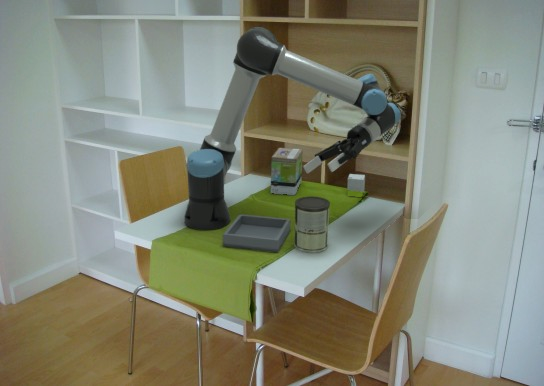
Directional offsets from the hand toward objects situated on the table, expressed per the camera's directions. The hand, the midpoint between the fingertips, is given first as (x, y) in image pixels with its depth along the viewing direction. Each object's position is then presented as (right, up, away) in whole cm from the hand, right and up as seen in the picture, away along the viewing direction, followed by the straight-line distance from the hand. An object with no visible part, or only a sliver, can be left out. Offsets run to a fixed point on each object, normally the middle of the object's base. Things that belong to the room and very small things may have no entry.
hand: (317, 169), depth 174 cm
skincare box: (+18, -8, +41) cm, 46 cm away
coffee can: (-2, -24, -3) cm, 24 cm away
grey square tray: (-18, -22, +2) cm, 28 cm away
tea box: (-8, -6, +47) cm, 48 cm away
